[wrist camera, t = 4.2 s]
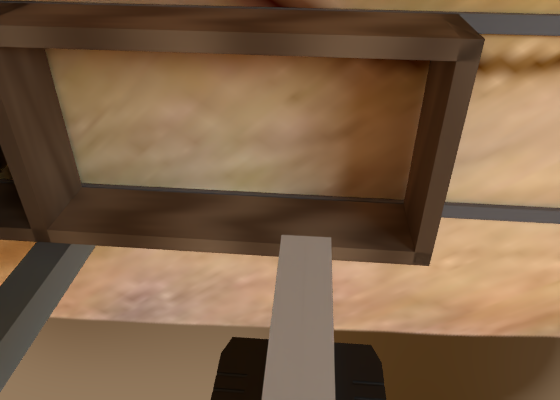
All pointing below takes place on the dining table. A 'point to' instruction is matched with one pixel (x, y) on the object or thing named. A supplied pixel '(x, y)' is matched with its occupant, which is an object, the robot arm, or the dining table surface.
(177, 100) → the dining table surface
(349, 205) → the divided wooden tray
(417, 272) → the dining table surface
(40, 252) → the tunnel
